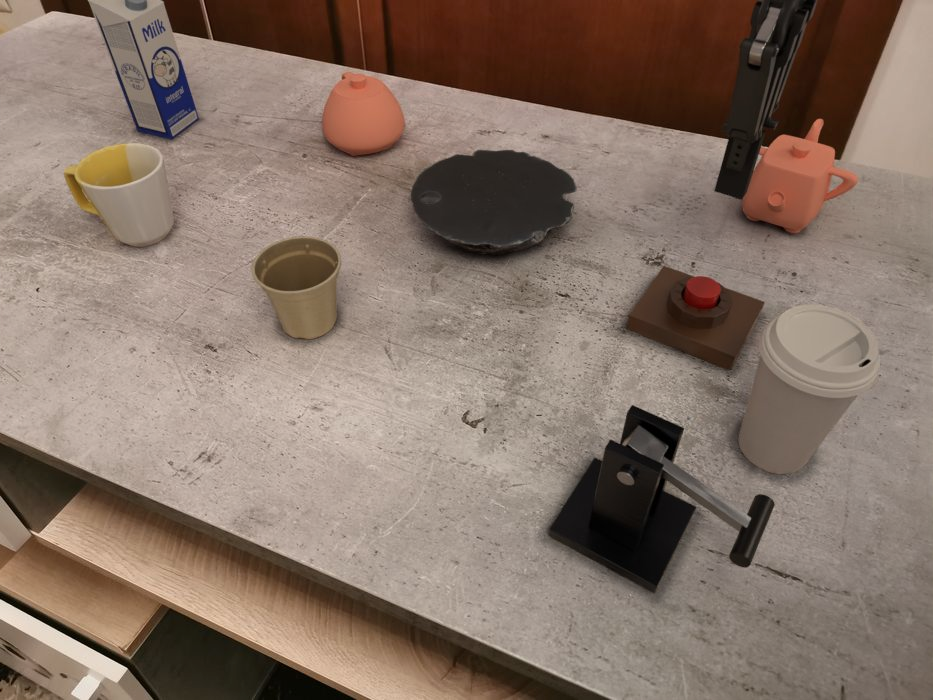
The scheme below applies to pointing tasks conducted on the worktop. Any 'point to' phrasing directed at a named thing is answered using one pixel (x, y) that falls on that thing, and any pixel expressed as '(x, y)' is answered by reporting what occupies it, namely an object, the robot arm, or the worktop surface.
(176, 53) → the milk carton
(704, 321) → the button block
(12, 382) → the worktop surface
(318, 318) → the flower pot
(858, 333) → the coffee cup
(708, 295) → the button
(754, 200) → the teapot
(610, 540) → the lever bracket
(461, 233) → the board
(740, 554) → the press lever
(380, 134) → the sugar bowl
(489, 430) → the worktop surface
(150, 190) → the mug
